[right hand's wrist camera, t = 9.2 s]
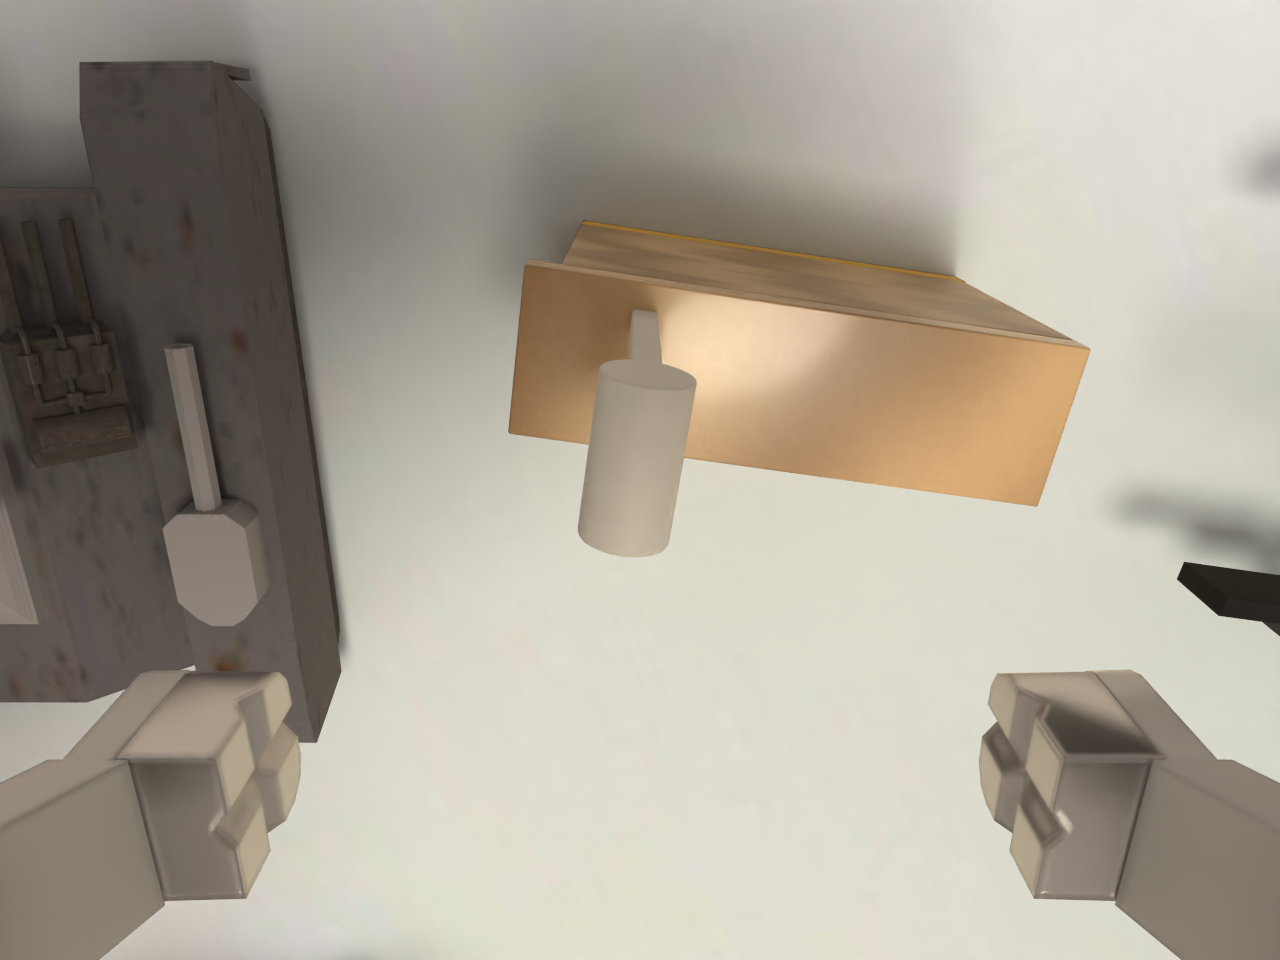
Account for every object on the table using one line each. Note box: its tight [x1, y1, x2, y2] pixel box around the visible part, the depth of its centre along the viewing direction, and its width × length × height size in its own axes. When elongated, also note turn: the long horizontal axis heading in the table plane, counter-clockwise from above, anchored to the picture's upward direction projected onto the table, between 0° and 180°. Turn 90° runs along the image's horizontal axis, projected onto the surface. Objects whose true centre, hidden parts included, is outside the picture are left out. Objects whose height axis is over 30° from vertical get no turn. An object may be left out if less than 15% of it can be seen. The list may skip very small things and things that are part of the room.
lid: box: [508, 260, 1090, 557], centre depth 22 cm, size 15×5×9 cm, turn 82°
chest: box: [562, 221, 1072, 340], centre depth 31 cm, size 15×5×10 cm, turn 82°
